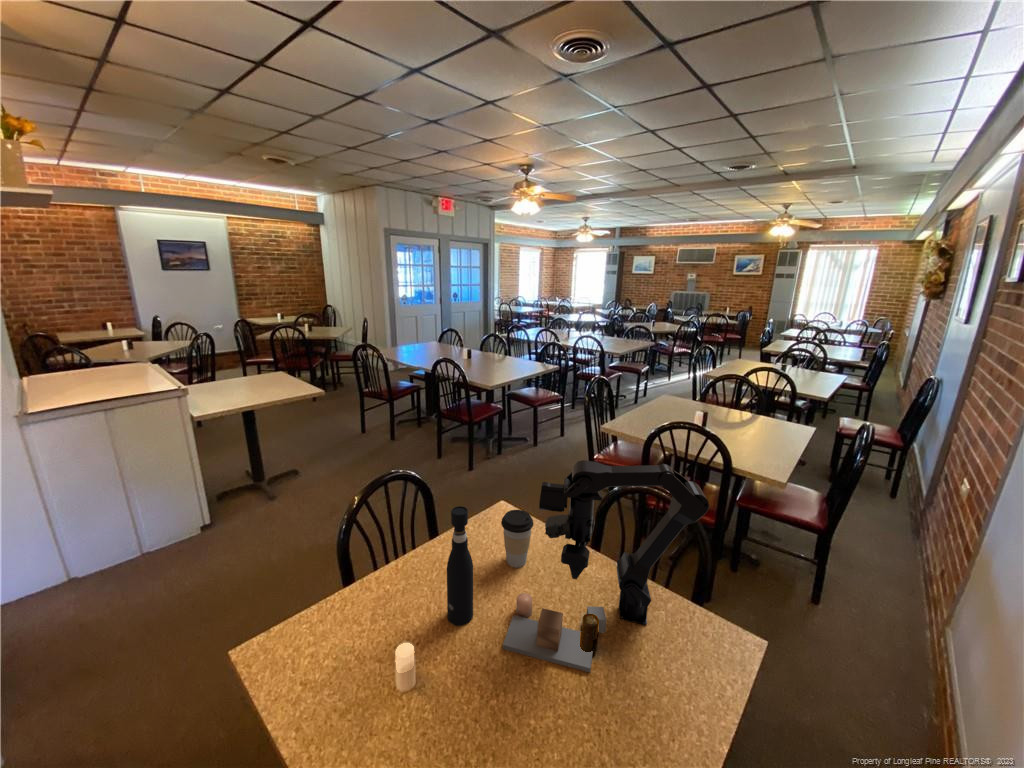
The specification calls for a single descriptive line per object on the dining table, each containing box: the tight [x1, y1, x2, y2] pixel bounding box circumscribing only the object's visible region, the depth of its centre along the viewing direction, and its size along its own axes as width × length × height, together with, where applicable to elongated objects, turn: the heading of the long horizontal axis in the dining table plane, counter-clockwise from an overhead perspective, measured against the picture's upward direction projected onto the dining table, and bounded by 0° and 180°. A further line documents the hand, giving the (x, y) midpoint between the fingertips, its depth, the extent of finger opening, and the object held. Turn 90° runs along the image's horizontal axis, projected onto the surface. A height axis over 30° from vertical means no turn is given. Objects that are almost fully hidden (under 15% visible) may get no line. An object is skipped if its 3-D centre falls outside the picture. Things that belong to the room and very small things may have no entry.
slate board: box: [502, 614, 594, 673], centre depth 97 cm, size 20×9×1 cm, turn 74°
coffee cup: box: [500, 509, 534, 569], centre depth 123 cm, size 9×9×15 cm
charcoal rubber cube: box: [586, 605, 607, 634], centre depth 102 cm, size 4×4×4 cm
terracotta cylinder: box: [515, 592, 533, 619], centre depth 106 cm, size 4×4×4 cm
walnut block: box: [537, 607, 564, 651], centre depth 97 cm, size 5×5×6 cm
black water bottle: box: [446, 505, 474, 627], centre depth 101 cm, size 6×6×30 cm
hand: (576, 566), depth 106 cm, fingers open, 9 cm apart
